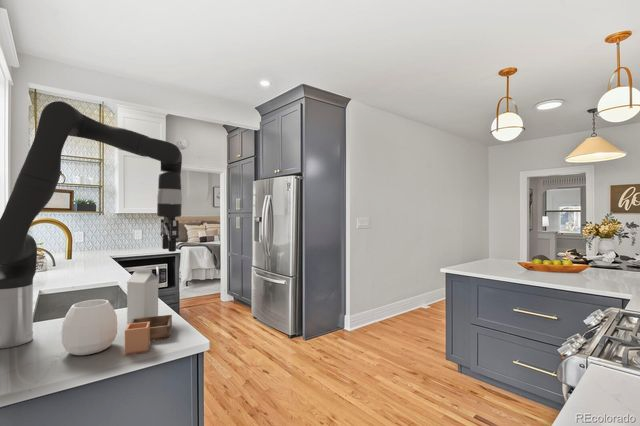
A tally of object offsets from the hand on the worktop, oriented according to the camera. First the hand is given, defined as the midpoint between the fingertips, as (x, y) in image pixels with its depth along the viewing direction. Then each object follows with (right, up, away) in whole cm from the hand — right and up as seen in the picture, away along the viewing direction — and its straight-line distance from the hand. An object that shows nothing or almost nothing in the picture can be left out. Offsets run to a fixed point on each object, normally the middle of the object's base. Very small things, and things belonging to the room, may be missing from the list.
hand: (168, 250), depth 112 cm
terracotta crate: (-1, -27, -18) cm, 32 cm away
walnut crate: (-3, -27, -6) cm, 28 cm away
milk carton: (-13, -27, +7) cm, 30 cm away
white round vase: (-14, -27, -18) cm, 35 cm away
